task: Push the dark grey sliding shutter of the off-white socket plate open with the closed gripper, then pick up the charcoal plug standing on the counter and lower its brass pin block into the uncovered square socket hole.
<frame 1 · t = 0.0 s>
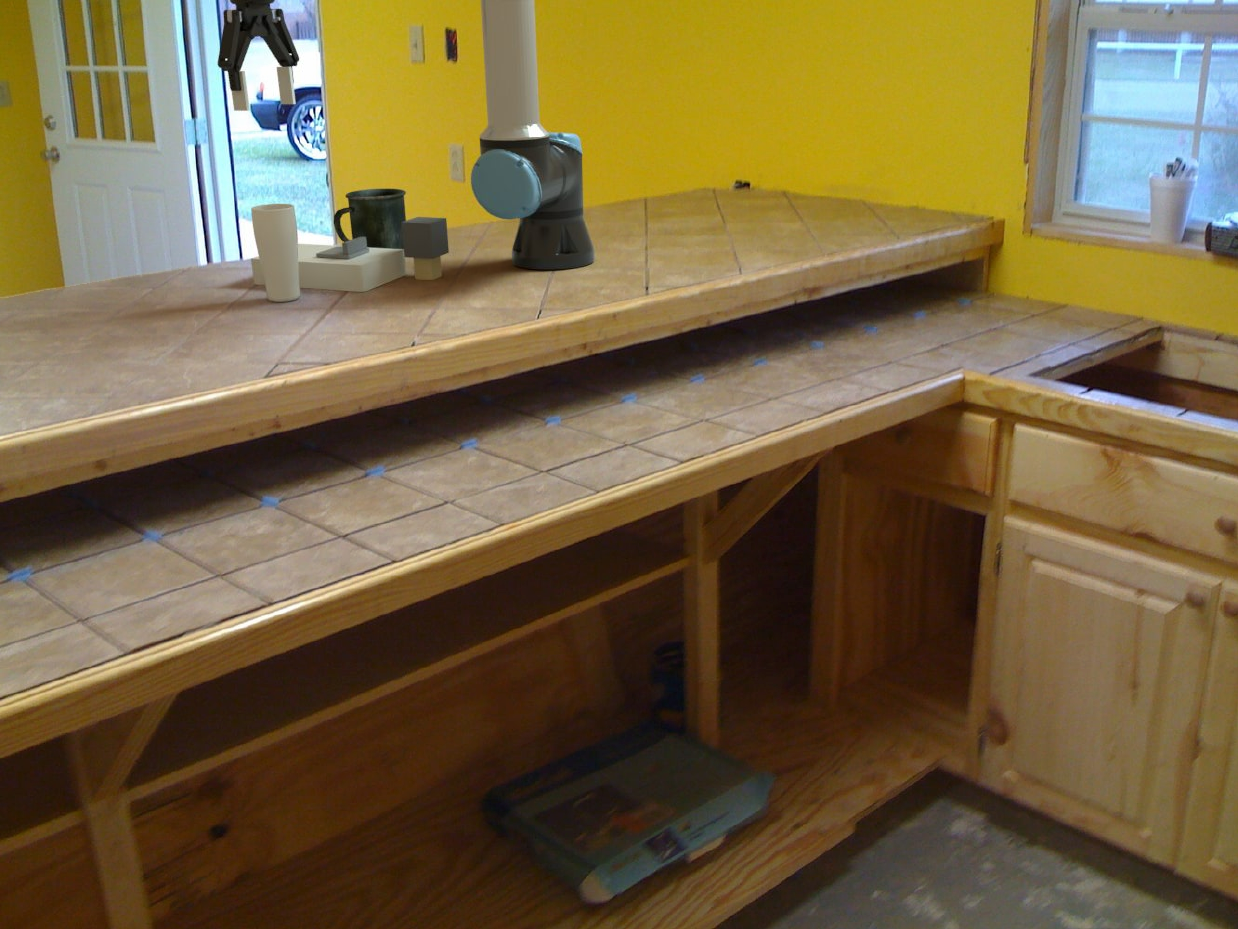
hand: (265, 107, 213), 28 cm above the table, fingers open, 13 cm apart
plug: (428, 277, 208), on the table
drinking glass: (284, 300, 195), on the table
mug: (374, 258, 226), on the table
socket: (331, 279, 208), on the table
shutter: (342, 246, 205), point 6 cm above the table, slide at 0.0 cm
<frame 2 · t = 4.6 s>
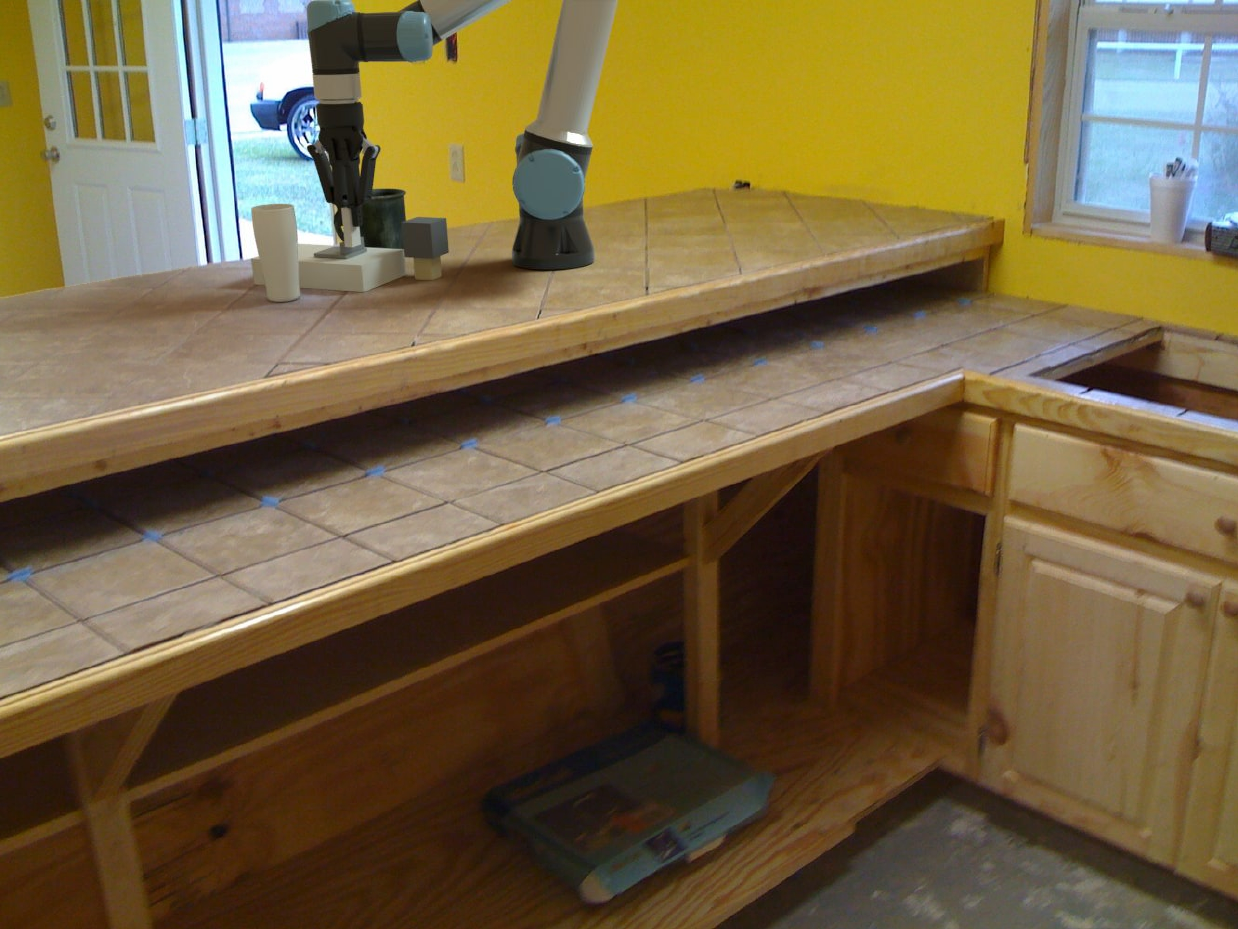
hand: (353, 245, 202), 7 cm above the table, fingers closed
shutter: (339, 246, 205), point 6 cm above the table, slide at 0.5 cm, touching gripper
everything else where it was.
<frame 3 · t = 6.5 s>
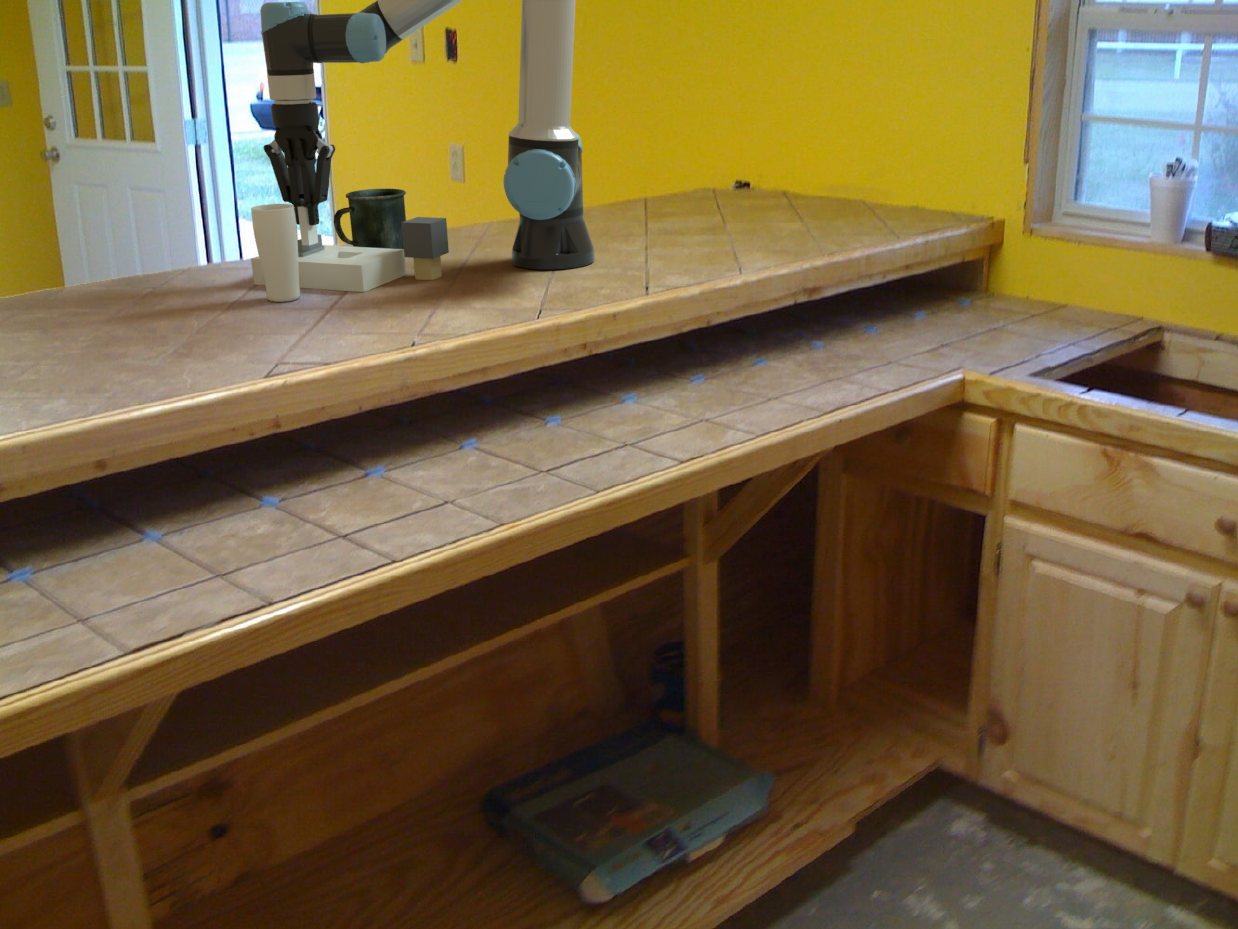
hand: (310, 243, 205), 6 cm above the table, fingers closed
shutter: (297, 244, 208), point 6 cm above the table, slide at 9.2 cm, touching gripper
everything else where it was.
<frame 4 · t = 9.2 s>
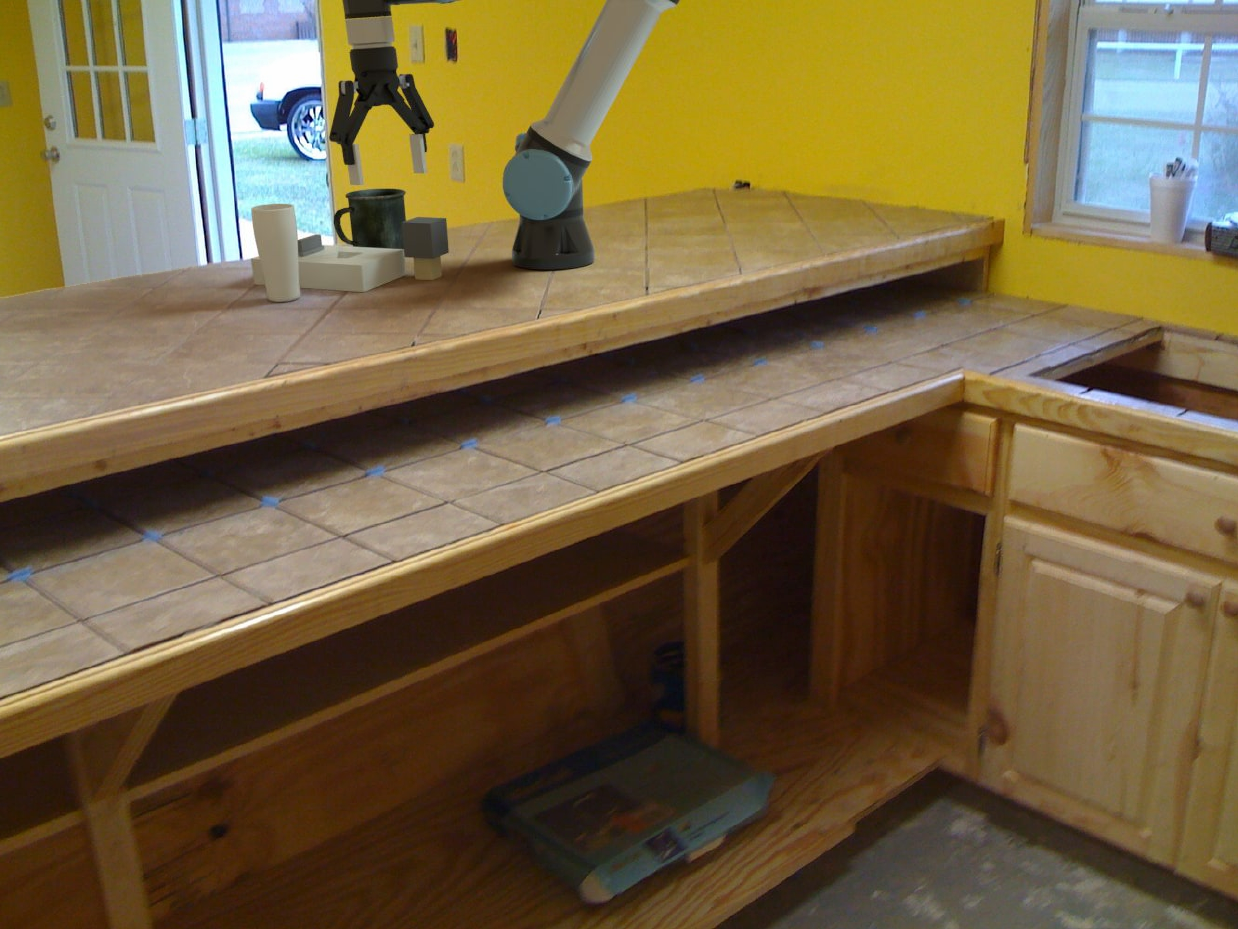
hand: (389, 178, 201), 17 cm above the table, fingers open, 13 cm apart
shutter: (297, 244, 208), point 6 cm above the table, slide at 9.2 cm
everything else where it was.
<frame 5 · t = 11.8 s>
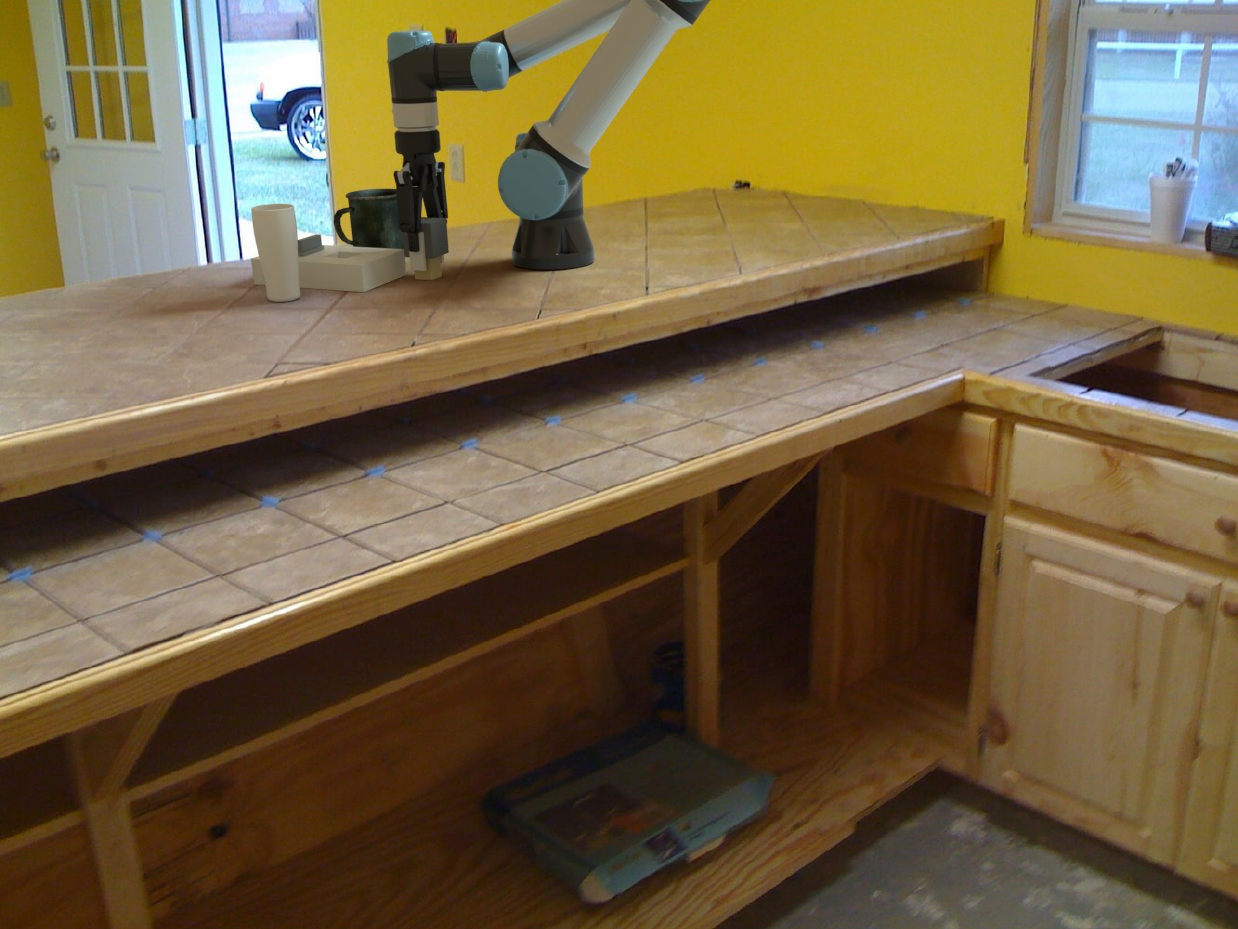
hand: (427, 265, 207), 2 cm above the table, fingers closed on plug, 6 cm apart
plug: (428, 277, 208), on the table, touching gripper
everything else where it was.
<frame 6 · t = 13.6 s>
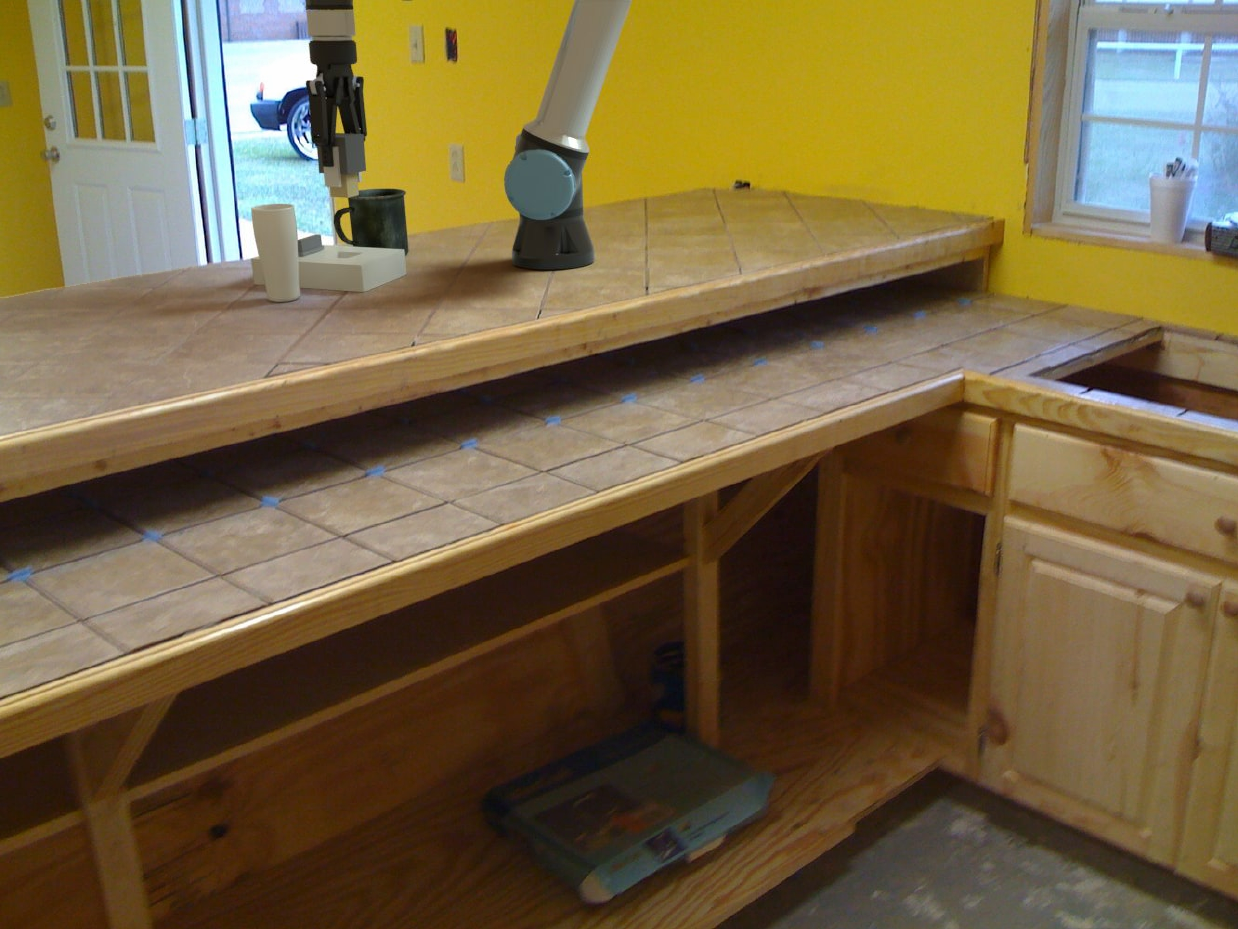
hand: (343, 183, 201), 17 cm above the table, fingers closed on plug, 6 cm apart
plug: (344, 195, 202), point 15 cm above the table, touching gripper
everything else where it was.
when the fingers open (5 cm above the table, at t = 15.7 s): plug drops 3 cm, resting on socket.
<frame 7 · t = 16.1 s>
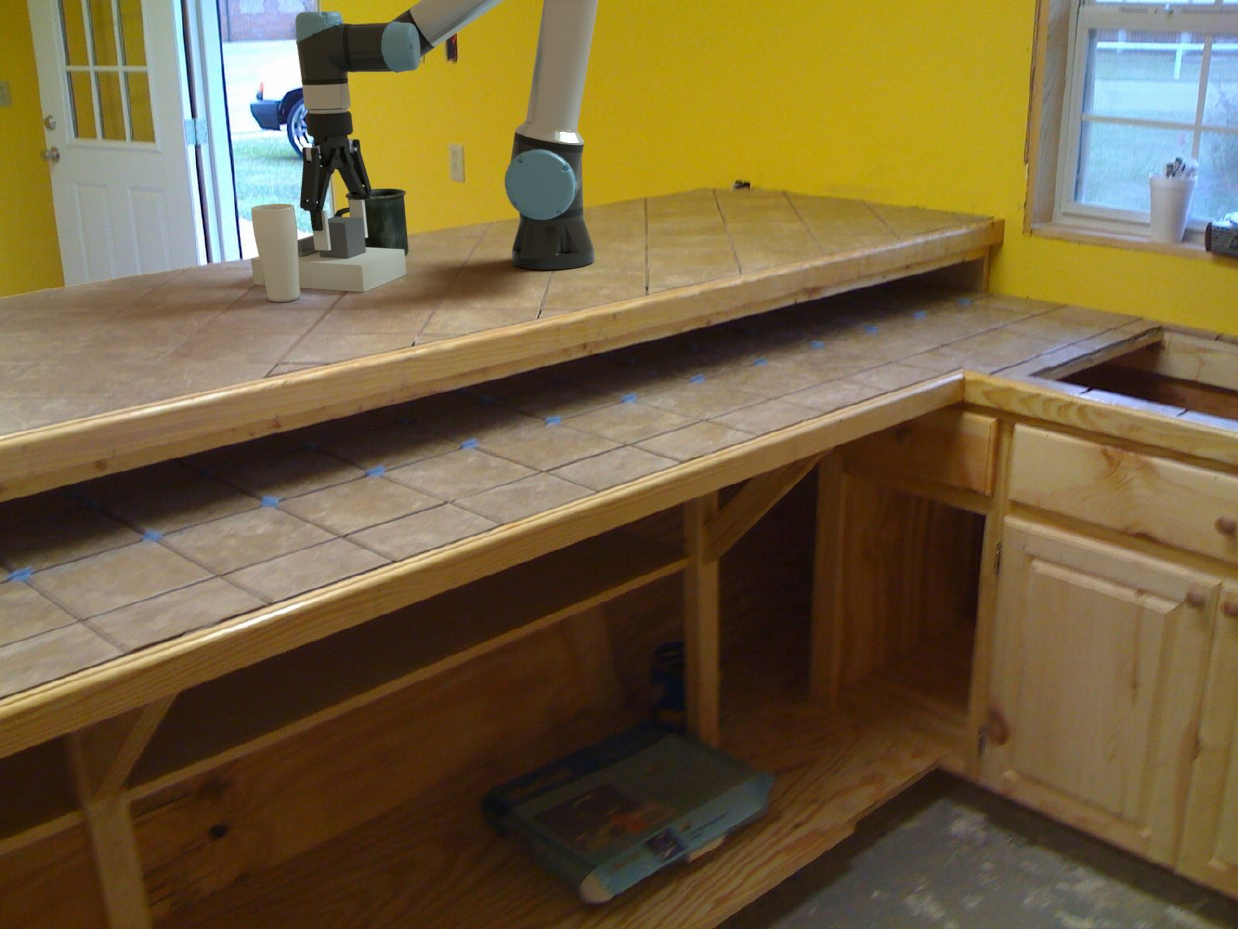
hand: (342, 243, 205), 6 cm above the table, fingers open, 11 cm apart
plug: (345, 277, 207), resting on socket
everything else where it was.
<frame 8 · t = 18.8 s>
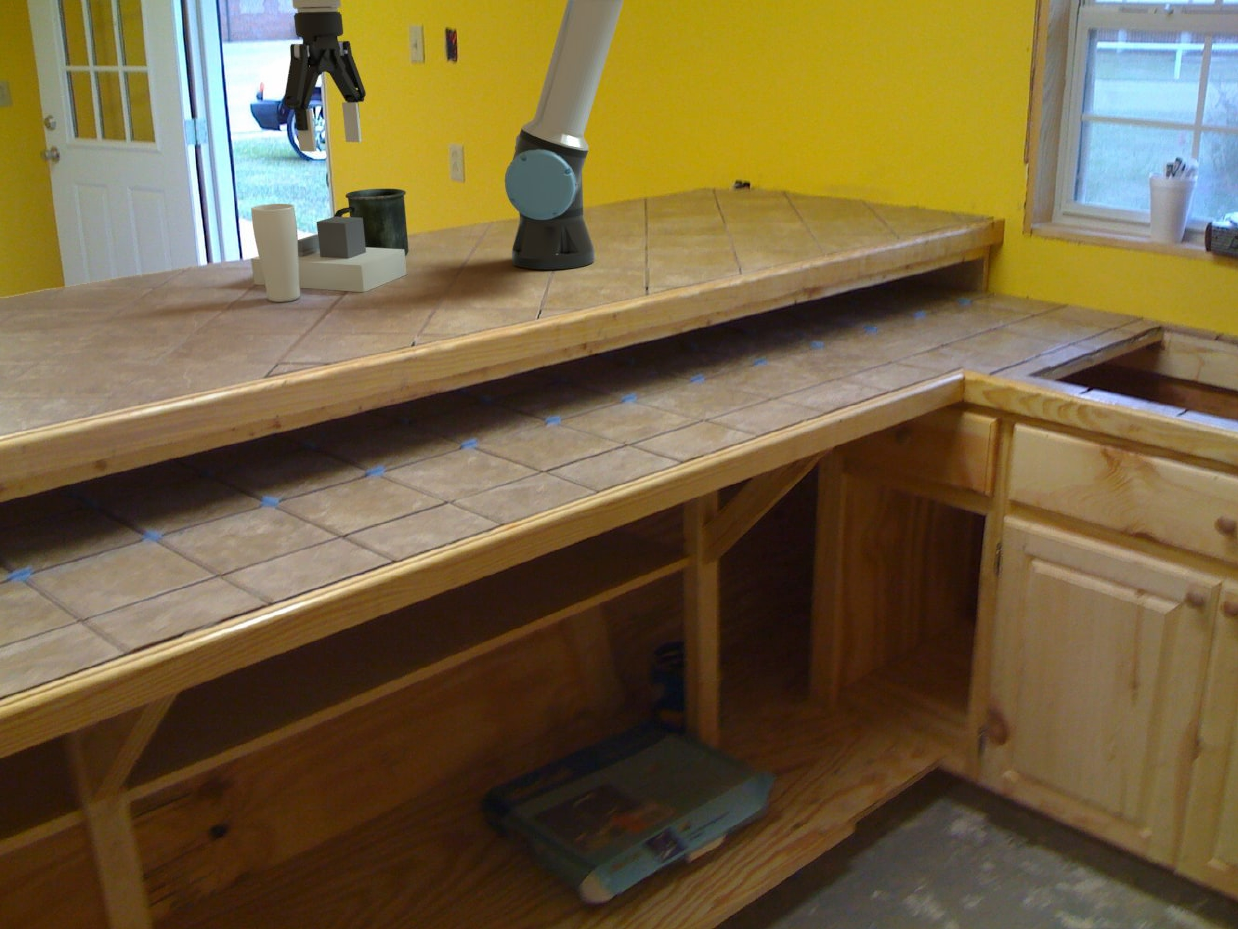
hand: (331, 146, 199), 23 cm above the table, fingers open, 13 cm apart
nothing on the table moved.
at the end: plug 0.1 cm from the target spot on the socket, point 0.5 cm above the socket's base; plug tilted 0°; shutter slide at 9.2 cm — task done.
